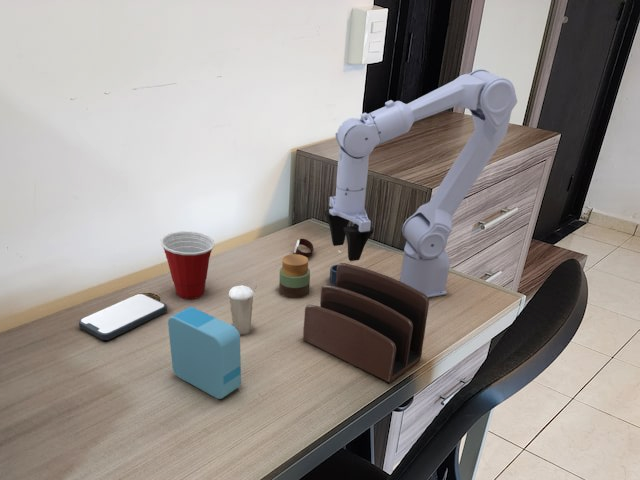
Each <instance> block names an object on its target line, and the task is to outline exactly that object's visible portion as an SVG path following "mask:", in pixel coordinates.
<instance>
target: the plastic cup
mask: <svg viewBox="0 0 640 480" xmlns="http://www.w3.org/2000/svg"><path fill="white" fill-rule="evenodd" d="M160 245H161V247H162V249H163V250H164V251H163V252H164V254H165V258H166V261H167V264H168V268H169V271H170V275H171V280H172V282H173V285H174V288H175V293H176V295H177V296H178V297H179V298H181V299H184V300H195V299H199V298H201V297H203V295H204V294H205V291H206V283H207V277H208V271H209V263H210V257H211V254H212V251H213V249H214V248H215V246H216V243H215V240H214V239H213V238H212V237H210V235H207V234H204V233H202V232H196V231H184V230H183V231H182V230H181V231H175V232H170V233H167V234H165V235H163V237H162V238H161V239H160Z"/></svg>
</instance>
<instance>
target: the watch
mask: <svg viewBox="0 0 640 480" xmlns="http://www.w3.org/2000/svg"><path fill="white" fill-rule="evenodd" d="M299 246H305V247H306V248H308V249H309V250H310V251H309V252H306V251H305V252H304V251H301V250H300V249H299ZM314 249H315V247H314V245H313V243H312V242H311V241H310V240H309V239H306V238H299V239H297V240H296V244H295V246H294V251H293V254H298V255H303V256H305V257H307V258H308V259H309V258H310V257H312V256H313V253H314Z"/></svg>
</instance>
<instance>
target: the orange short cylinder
mask: <svg viewBox="0 0 640 480" xmlns="http://www.w3.org/2000/svg"><path fill="white" fill-rule="evenodd" d="M281 261H282V263H281V268H282V272H283V273H284V274H285V275H288V276H293V277H299V276H303V275H305V274H307V272H308V268H309V258H307V257H305V256H303V255H298V254H296V253H293V254H292V253H291V254H288V255H285V256H283V257H282V259H281Z"/></svg>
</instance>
